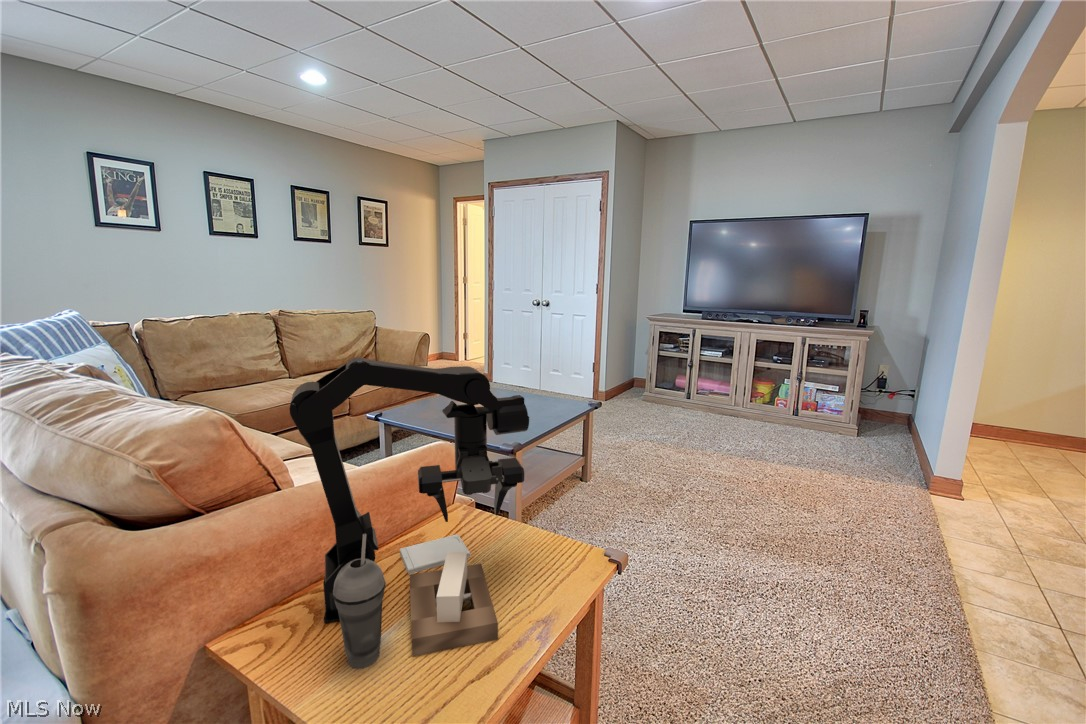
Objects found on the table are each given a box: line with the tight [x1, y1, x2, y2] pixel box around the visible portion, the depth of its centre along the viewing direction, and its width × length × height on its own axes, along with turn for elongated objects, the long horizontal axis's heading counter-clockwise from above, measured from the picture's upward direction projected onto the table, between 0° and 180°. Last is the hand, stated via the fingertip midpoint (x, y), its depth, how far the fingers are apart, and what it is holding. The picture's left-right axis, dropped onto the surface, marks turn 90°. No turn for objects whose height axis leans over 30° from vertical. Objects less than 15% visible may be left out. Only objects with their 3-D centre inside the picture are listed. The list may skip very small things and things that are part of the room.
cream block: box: [436, 552, 468, 622], centre depth 80 cm, size 4×12×4 cm, turn 3°
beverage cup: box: [333, 534, 387, 670], centre depth 70 cm, size 7×7×20 cm
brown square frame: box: [408, 563, 499, 658], centre depth 81 cm, size 13×16×3 cm
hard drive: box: [398, 533, 471, 575], centre depth 98 cm, size 2×8×12 cm
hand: (471, 517), depth 89 cm, fingers open, 9 cm apart
